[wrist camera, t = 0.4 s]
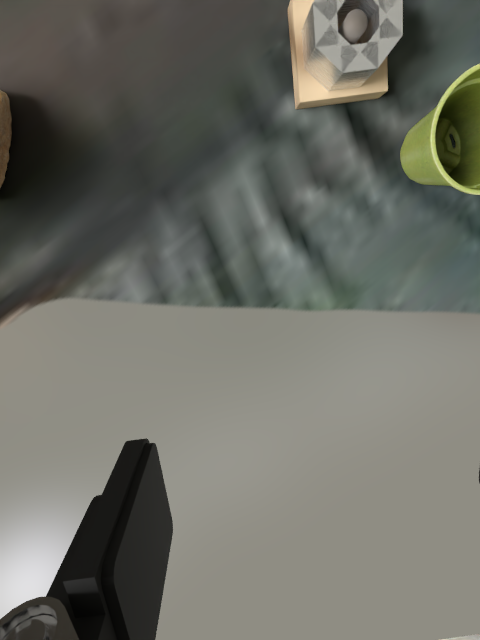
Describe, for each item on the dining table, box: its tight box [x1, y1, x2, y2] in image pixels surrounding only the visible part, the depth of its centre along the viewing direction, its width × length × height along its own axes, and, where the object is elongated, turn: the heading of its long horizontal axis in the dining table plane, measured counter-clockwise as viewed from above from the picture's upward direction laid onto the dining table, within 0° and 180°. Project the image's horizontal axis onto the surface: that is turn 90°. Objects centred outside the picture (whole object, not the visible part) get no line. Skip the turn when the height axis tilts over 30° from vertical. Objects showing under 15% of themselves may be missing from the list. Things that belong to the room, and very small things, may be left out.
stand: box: [288, 0, 388, 109], centre depth 30 cm, size 8×8×6 cm
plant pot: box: [400, 64, 480, 195], centre depth 31 cm, size 9×9×9 cm
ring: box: [301, 0, 403, 91], centre depth 29 cm, size 7×7×4 cm
